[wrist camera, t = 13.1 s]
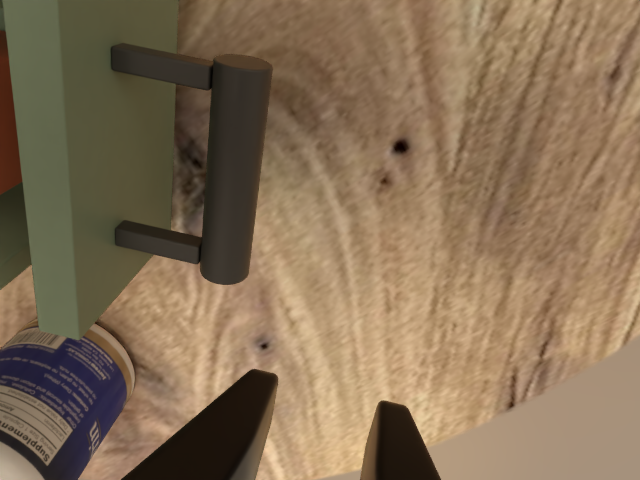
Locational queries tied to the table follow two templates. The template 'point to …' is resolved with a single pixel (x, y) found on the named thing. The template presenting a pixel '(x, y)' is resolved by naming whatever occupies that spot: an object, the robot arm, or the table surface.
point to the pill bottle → (58, 400)
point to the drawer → (119, 153)
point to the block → (7, 125)
